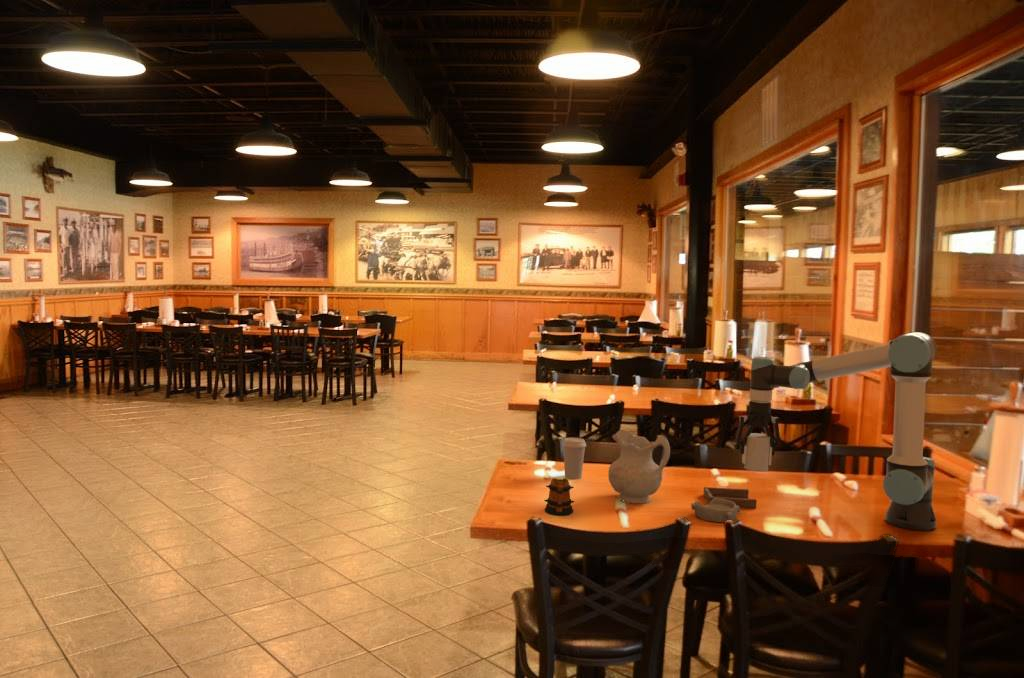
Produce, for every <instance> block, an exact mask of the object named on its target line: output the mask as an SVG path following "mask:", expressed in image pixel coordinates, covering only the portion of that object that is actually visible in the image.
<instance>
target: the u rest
mask: <svg viewBox="0 0 1024 678" xmlns="http://www.w3.org/2000/svg"><path fill="white" fill-rule="evenodd" d="M749 492H750V491H749V489H748V488H731V487H729V488H728V487H710V486H709V487H707V486H703V493H702V495H703V496H704V498H705V500H706V502H707V503H708V504H709V503H710V502H711V501H712V499H713V498H718V499H725V500H730V501H732V502H734V503H735V504H736V506H739V507H740V509H757V502H758V501H757V499H756V498H749ZM708 504H707V505H708Z"/></svg>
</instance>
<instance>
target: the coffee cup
mask: <svg viewBox="0 0 1024 678" xmlns="http://www.w3.org/2000/svg"><path fill="white" fill-rule="evenodd" d="M561 445H562V446H563V464H564V465H563V467H564V478H565V479H567V480H580V479H582V474H583V466H584V459H585V458H584V457H585V451H586V450H585V449H586V447H587V443H586V441H585V439H584V438H582V437H565V438H564V440H563V441H562V444H561Z"/></svg>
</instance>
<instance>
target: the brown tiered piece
mask: <svg viewBox="0 0 1024 678" xmlns="http://www.w3.org/2000/svg"><path fill="white" fill-rule="evenodd" d="M545 487H546V488H548V489H549V493H548V497H547V499H544V502H547V503H546V505H545V507H544V512H545V514H548V515H550V516H556V517H565V516H567V517H568V516H571V515H573V514H574V508H573V506H572V503H575V501H574V500H572V499H571V492H570V491H571V490H572V489H574V488H575V487H574V486H571V485H570V481H569V479H568V478H562V479H561V478H560V479H558V478H555V477H553V478H551V481H550V484H548V485H545Z"/></svg>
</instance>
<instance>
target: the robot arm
mask: <svg viewBox="0 0 1024 678" xmlns="http://www.w3.org/2000/svg"><path fill="white" fill-rule="evenodd" d="M937 354H938V346H937V343H936V341H935V340H934V339H933V338H932V337H931V336H930V335H929V334H927V333H924V332H921V331H919V332H917V331H914V332H910V333H903V334H902V335H899V336H898V337H896V338H895V339H891V340H889V341H887V344H882V345H878V346H873V347H869V348H864V349H859V350H854V351H850V352H847V353H846V352H844V353H841V354H836V355H832V356H827V357H822V358H818V359H813V360H809V361H803V362H799V363H796V364H792V365H779V364H777V363H776V364H775V360H774V359H773V358H771V357H765V356H764V357H763V356H757V357H754V358H752V360H751V367H750V382H749V383H750V387H749V402H748V412H747V415H739V417H738V419H739V420H738V421H739V423H738V427H737V431H736V435H735V439H734V442H735V443H736V444H738V445H739V454H740V455H742V456H741V463H742V464H743V465H744V464H746V452H747V446H746V441H747V439H748V436H750V434H751V433H753V430H754V429H755V428H763V430H764V432H765V435H767V436H768V437H770V446H769V462H768V466H772V456H775V451H776V450H775V449H776V447H777V446H781V444H782V443H781V435H780V428H779V423H780V418H779V417H778V416H772V414H771V413H772V412H771V411H772V403H771V401H772V398H773V397H772V396H773V395H772V394H773V387H781V388H788V389H794V390H805V389H807V388H808V386H809V384H810V383H816V382H819V381H825V380H829V379H835V378H839V377H844V376H850V375H855V374H860V373H865V372H870V371H875V370H880V369H886V368H890V376H891V378H893V379H894V382H895V387H894V407H893V408H894V409H893V411H894V412H893V430H892V431H893V433H892V436H893V437H892V438H893V439H892V454H891V455H890V456H888V457H887V459H886V474H885V475H884V478H883V481H882V482H883V483H882V484H883V485H882V487H883V488H882V489H883V491H884V493H885V495H886V496H887V497H888V498H889V499H890V500H891V501H890V503H889V506H888V508H887V511H886V512H885V521H886V522H887V523H889V524H890V525H893V526H895V527H899V528H903V529H906V530H907V529H908V530H912V529H915V530H914V531H932V530H931V529H933V530H935V529H936V528H937V519H936V518H937V517H936V514H935V511H934V510H935V509H934V508H933V494H934V493H933V491H934V483H935V482H934V479H935V470H936V461H935V460H934V459H932V458H931V457H926V456H923V453H924V432H925V431H924V429H925V428H924V427H925V408H926V405H925V404H926V388H927V387H926V386H927V385H926V384H927V382H928V381H929V380H930V379H931V378H932V374H933V373H932V372H933V362H934V360H935V359H936V357H937ZM747 420H748V422H749V424H748V426H747V428H746V430H745V432H744V434H743V431H744V427H745V422H747ZM770 422H772V426H773V434H774V438H773V436H772V433H771V430H770V427H769V425H768V424H769V423H770ZM934 528H935V529H934Z"/></svg>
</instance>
